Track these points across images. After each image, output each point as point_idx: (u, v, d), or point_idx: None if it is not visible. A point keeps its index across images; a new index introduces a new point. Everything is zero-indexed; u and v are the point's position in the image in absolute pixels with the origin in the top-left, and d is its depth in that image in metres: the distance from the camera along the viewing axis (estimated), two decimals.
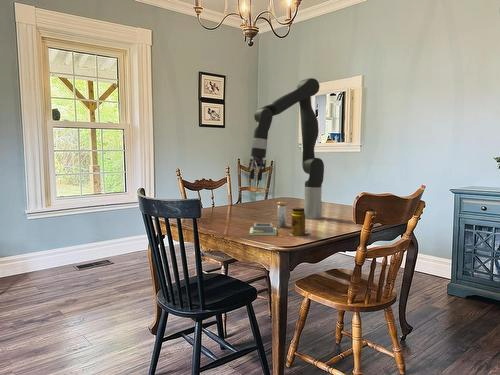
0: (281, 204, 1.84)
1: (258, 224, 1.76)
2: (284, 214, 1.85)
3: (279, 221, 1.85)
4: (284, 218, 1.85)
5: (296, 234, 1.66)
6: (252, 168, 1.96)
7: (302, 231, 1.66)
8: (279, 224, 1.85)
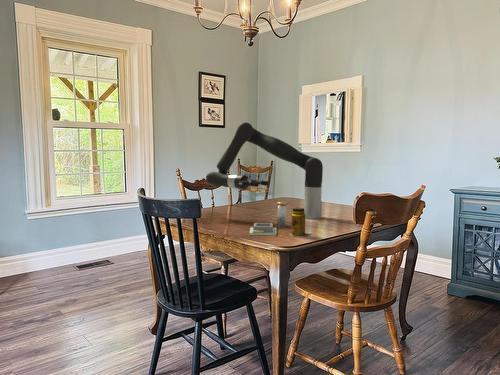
0: (281, 204, 1.84)
1: (258, 224, 1.76)
2: (284, 214, 1.85)
3: (279, 221, 1.85)
4: (284, 218, 1.85)
5: (296, 234, 1.66)
6: None
7: (302, 231, 1.66)
8: (279, 224, 1.85)
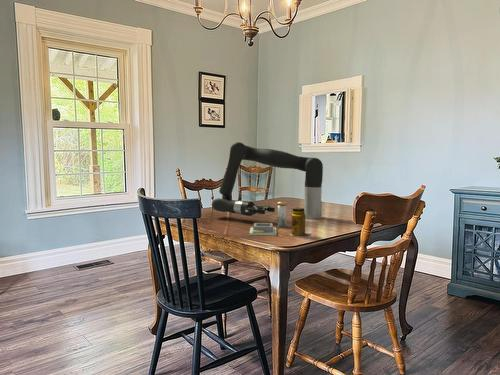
0: (281, 204, 1.84)
1: (258, 224, 1.76)
2: (284, 214, 1.85)
3: (279, 221, 1.85)
4: (284, 218, 1.85)
5: (296, 234, 1.66)
6: None
7: (302, 231, 1.66)
8: (279, 224, 1.85)
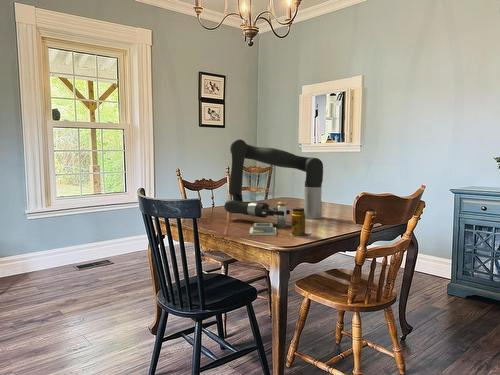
0: (281, 204, 1.84)
1: (258, 224, 1.76)
2: (284, 214, 1.85)
3: (279, 221, 1.85)
4: (284, 218, 1.85)
5: (296, 234, 1.66)
6: None
7: (302, 231, 1.66)
8: (279, 224, 1.85)
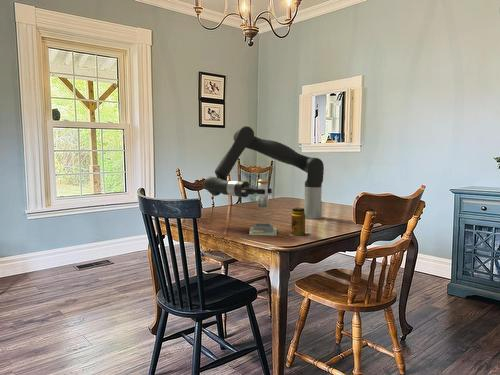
0: (262, 182, 1.69)
1: (258, 224, 1.76)
2: (265, 193, 1.70)
3: (260, 200, 1.71)
4: (265, 197, 1.70)
5: (296, 234, 1.66)
6: None
7: (302, 231, 1.66)
8: (260, 203, 1.71)
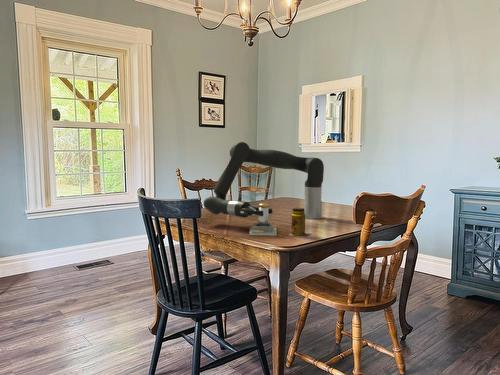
0: (263, 206, 1.70)
1: None
2: (266, 217, 1.71)
3: (260, 224, 1.72)
4: (265, 221, 1.71)
5: (296, 234, 1.66)
6: None
7: (302, 231, 1.66)
8: None
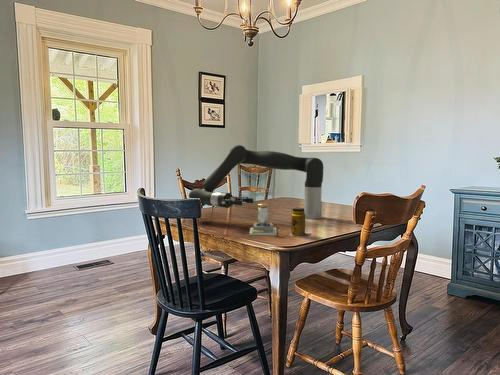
0: (262, 206, 1.70)
1: None
2: (265, 217, 1.71)
3: (260, 224, 1.72)
4: (265, 221, 1.71)
5: (296, 234, 1.66)
6: (242, 202, 1.87)
7: (302, 231, 1.66)
8: None
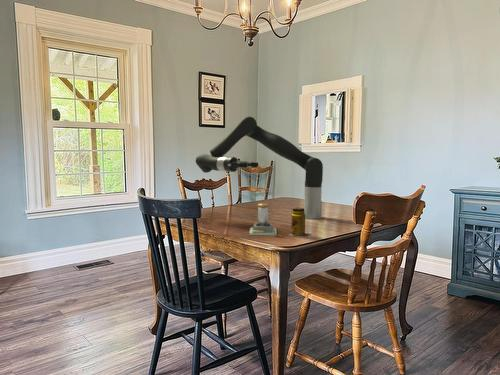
0: (262, 206, 1.70)
1: None
2: (265, 217, 1.71)
3: (260, 224, 1.72)
4: (265, 221, 1.71)
5: (296, 234, 1.66)
6: (247, 166, 1.92)
7: (302, 231, 1.66)
8: None
